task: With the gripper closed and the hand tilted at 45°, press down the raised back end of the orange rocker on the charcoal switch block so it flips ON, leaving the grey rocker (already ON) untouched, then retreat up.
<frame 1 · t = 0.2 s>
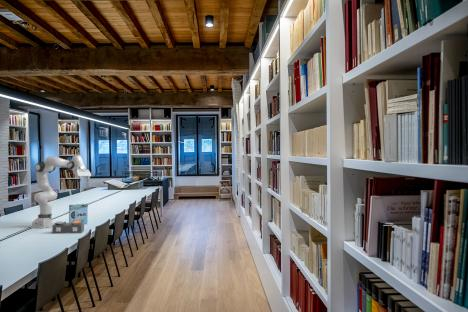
hand: (85, 180, 358), 53 cm above the table, tool tilted 30°, fingers open, 8 cm apart
rocker a: (76, 222, 354), point 10 cm above the table, hinge at 12.0°
rocker b: (60, 222, 352), point 10 cm above the table, hinge at -12.0°
gum box: (78, 224, 394), on the table
switch block: (68, 232, 353), on the table
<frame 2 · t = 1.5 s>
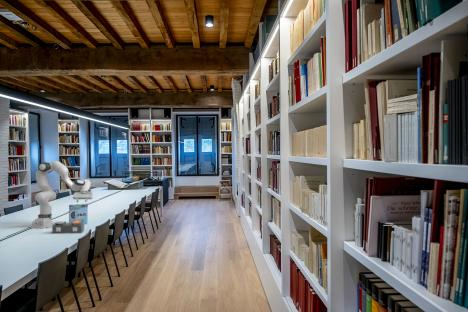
hand: (81, 201, 369), 29 cm above the table, tool tilted 45°, fingers open, 7 cm apart
nothing on the table moved.
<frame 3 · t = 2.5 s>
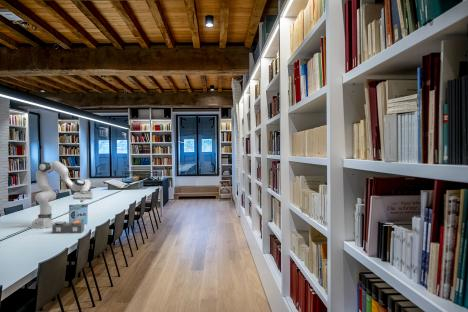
hand: (81, 201, 369), 29 cm above the table, tool tilted 45°, fingers closed
nothing on the table moved.
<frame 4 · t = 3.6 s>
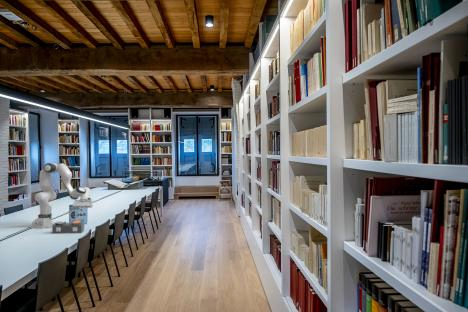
hand: (81, 210, 369), 20 cm above the table, tool tilted 45°, fingers closed
nothing on the table moved.
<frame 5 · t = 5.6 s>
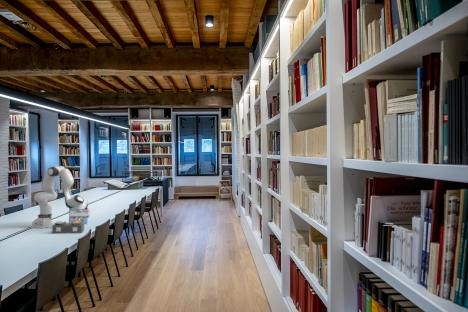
hand: (78, 220, 358), 11 cm above the table, tool tilted 45°, fingers closed, pressing on rocker a
rocker a: (76, 222, 354), point 10 cm above the table, hinge at 11.1°, touching gripper
everything else where it was.
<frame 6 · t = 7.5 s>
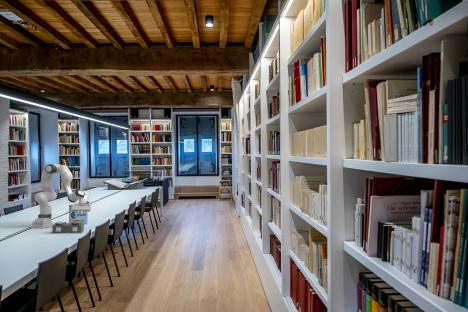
hand: (79, 214, 364), 17 cm above the table, tool tilted 45°, fingers closed
rocker a: (76, 222, 354), point 10 cm above the table, hinge at -15.3°
everything else where it was.
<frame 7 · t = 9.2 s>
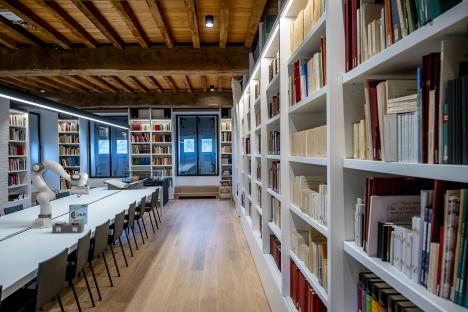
hand: (78, 197, 373), 34 cm above the table, tool tilted 30°, fingers closed
rocker a: (76, 222, 354), point 10 cm above the table, hinge at -16.4°
everything else where it was.
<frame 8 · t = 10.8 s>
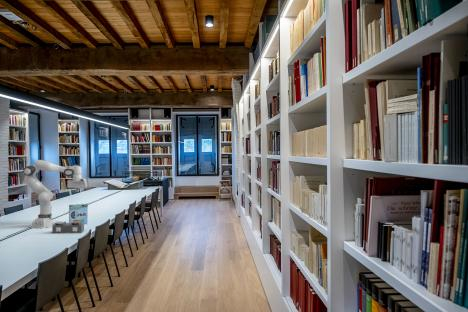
hand: (77, 191, 378), 39 cm above the table, tool pointing down, fingers closed
nothing on the table moved.
at the end: rocker a at -17° (first picture: +12°); rocker b at -12° (first picture: -12°) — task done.
